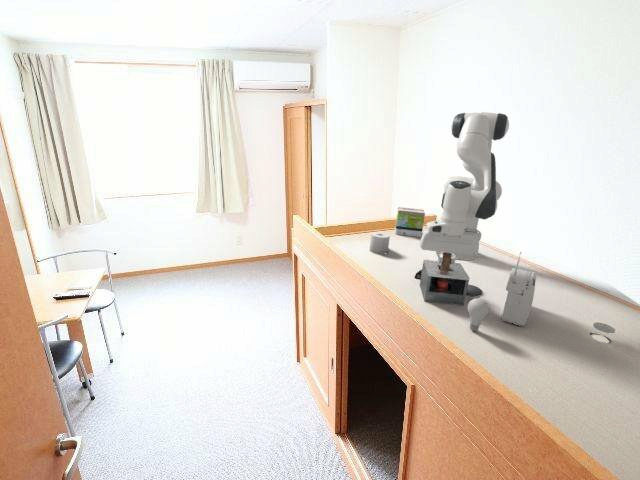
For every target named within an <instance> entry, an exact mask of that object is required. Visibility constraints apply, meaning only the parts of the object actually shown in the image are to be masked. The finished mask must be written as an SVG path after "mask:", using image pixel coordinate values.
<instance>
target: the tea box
mask: <svg viewBox="0 0 640 480" xmlns="http://www.w3.org/2000/svg"><path fill="white" fill-rule="evenodd" d="M425 216H426V213H425V211H424V209H418V208H410V207H404V206H403V207H401V206H398V207H397V214H396V221H395V224H394V225H395V226H394V234H395V235H401V236H409V237H416V238H417V237H418V238H422V234H423V227H424V221H425Z"/></svg>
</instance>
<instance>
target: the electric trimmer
mask: <svg viewBox="0 0 640 480" xmlns="http://www.w3.org/2000/svg"><path fill="white" fill-rule="evenodd" d="M421 273H422V269H420V270H419V271H417V272H416V274H415V275H414V279H416V280H419V281H420V280H421Z"/></svg>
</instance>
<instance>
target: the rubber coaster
mask: <svg viewBox="0 0 640 480" xmlns="http://www.w3.org/2000/svg"><path fill="white" fill-rule="evenodd" d="M482 295H483V290H482V289H481V288H480V287H478V286H476V285H472V284H470V283H468V288H467V293H466V296H468V297H480V296H482Z"/></svg>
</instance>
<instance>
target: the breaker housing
mask: <svg viewBox="0 0 640 480" xmlns="http://www.w3.org/2000/svg"><path fill="white" fill-rule="evenodd" d="M440 268H441V263H438V260H431V259H429V260H428V259H423V260H422V268H421V270H422V273H421V280H419V288H420V291H421V295H422V298H423V301H424V302H429V303H439V304H447V305H455V306H463V307H464V306H465V302H466V298H467V295H466V293H467V288H468V284H470V283H469V281H470V275H468V273H467V272H466V270H465V268H464V266H463V265H462V264H461V263H458V262H455V264H450V266H449V271H444V270H440ZM439 277H442V278H447V280H448V281H449V283H448V288H447V289H441V288H436V286H437V280H438V278H439Z"/></svg>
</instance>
